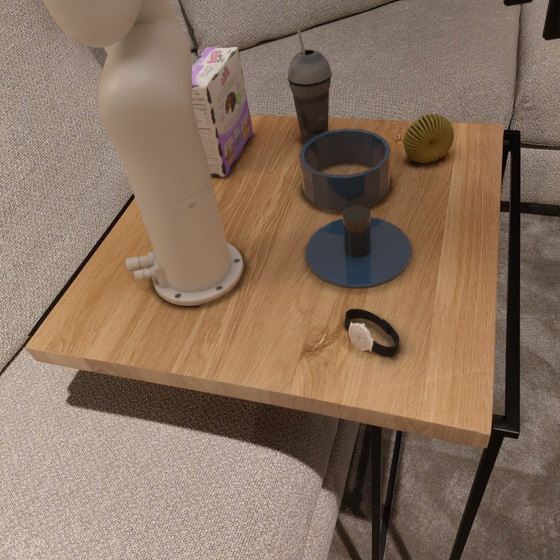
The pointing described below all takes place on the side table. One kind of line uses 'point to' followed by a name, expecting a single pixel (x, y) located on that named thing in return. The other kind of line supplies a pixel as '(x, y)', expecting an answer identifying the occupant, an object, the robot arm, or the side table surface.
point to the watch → (362, 335)
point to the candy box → (221, 107)
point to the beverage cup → (310, 90)
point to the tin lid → (358, 250)
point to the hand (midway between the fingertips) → (537, 19)
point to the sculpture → (428, 138)
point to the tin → (349, 149)
